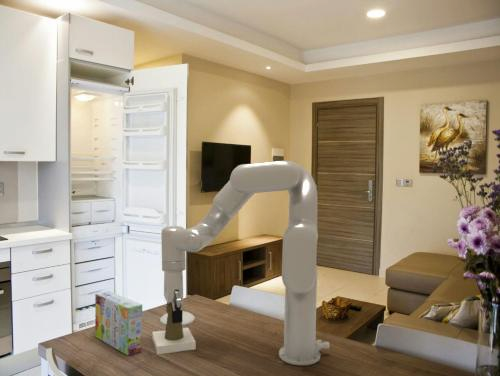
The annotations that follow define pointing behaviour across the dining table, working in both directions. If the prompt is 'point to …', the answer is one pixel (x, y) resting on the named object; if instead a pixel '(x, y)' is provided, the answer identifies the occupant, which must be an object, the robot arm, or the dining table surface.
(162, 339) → the tile base
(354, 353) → the dining table surface
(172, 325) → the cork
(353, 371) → the dining table surface
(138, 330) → the snack box
